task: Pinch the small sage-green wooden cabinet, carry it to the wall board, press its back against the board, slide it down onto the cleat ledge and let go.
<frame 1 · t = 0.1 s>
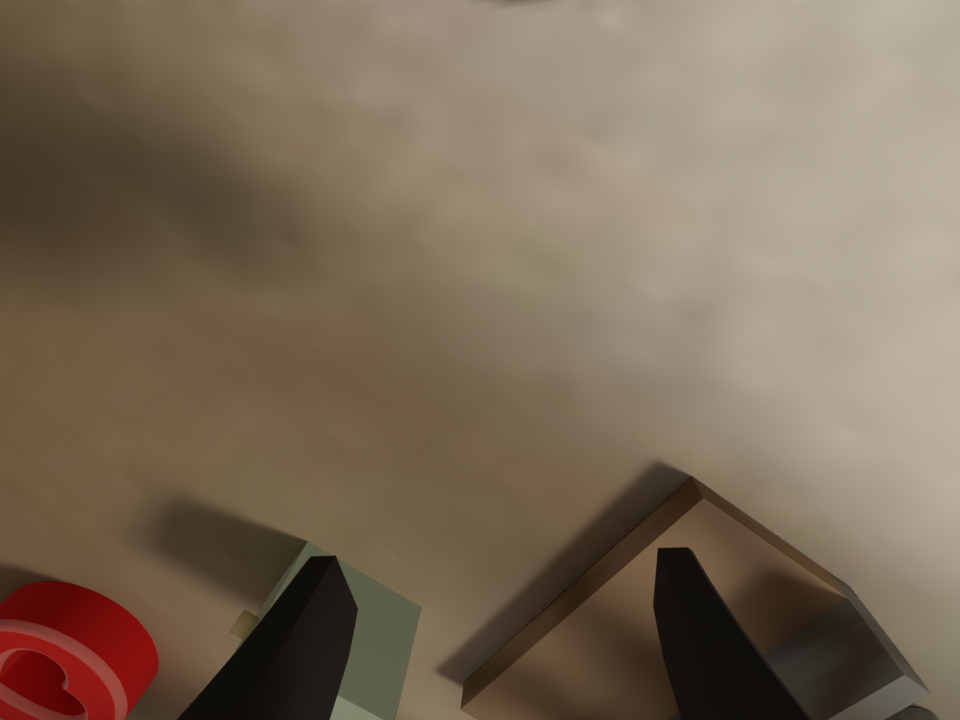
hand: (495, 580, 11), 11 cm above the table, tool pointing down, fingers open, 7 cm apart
decorative ornament: (86, 635, 30), on the table
cleat wall: (646, 644, 26), on the table
mini cabinet: (345, 598, 27), on the table
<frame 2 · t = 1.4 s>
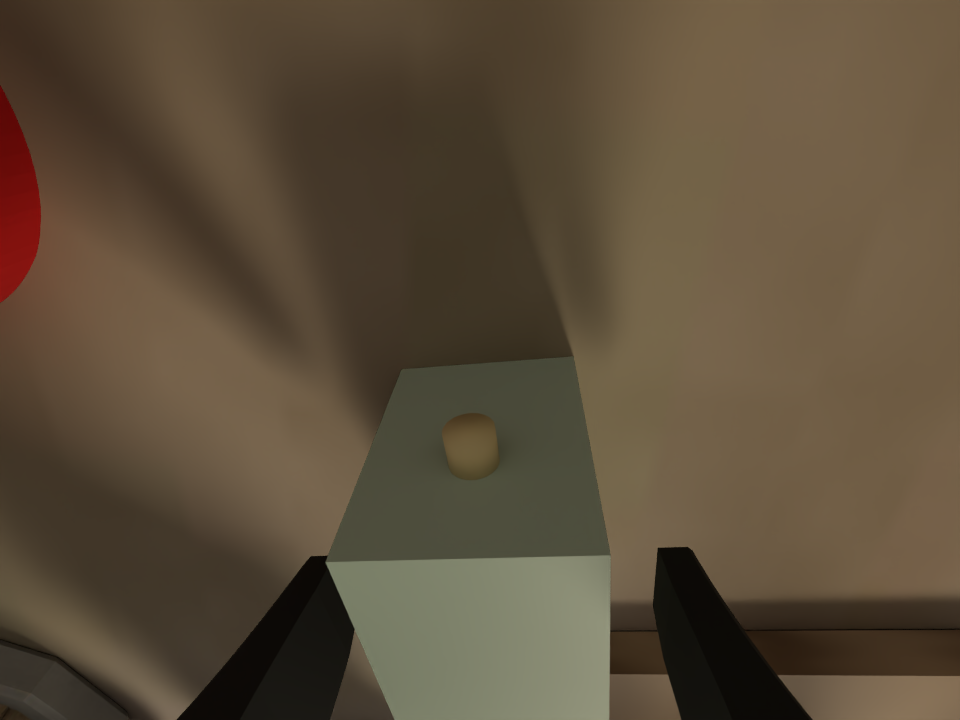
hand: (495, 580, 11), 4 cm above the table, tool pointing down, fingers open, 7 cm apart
cleat wall: (726, 707, 20), on the table
tankard: (76, 712, 26), on the table
mini cabinet: (500, 462, 15), on the table
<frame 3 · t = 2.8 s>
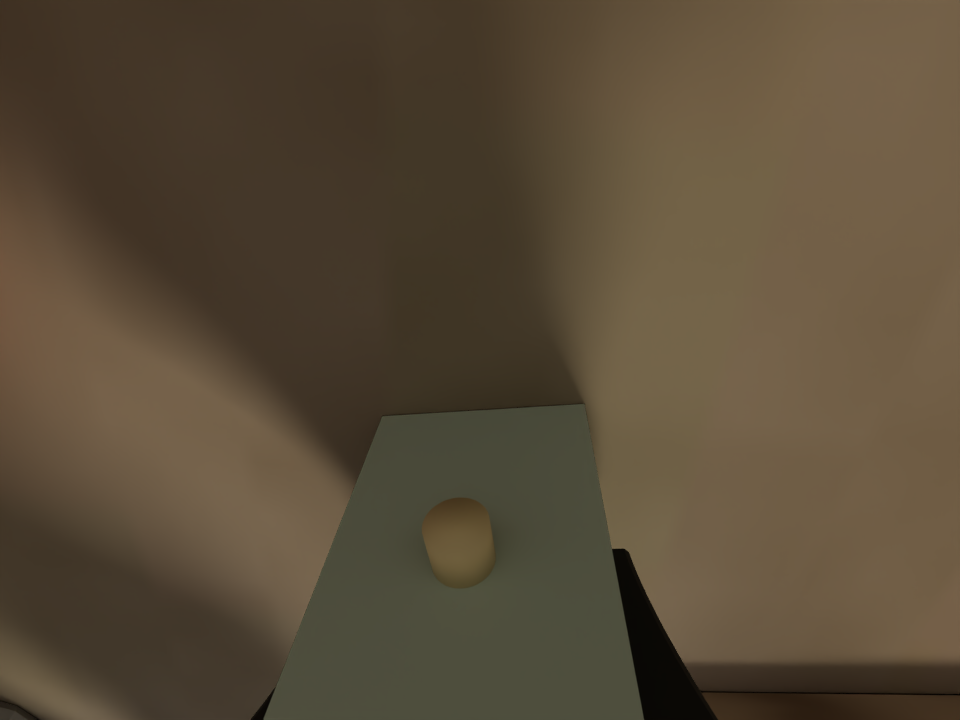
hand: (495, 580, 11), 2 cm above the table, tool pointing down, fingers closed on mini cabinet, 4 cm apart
mini cabinet: (498, 519, 13), on the table, touching gripper
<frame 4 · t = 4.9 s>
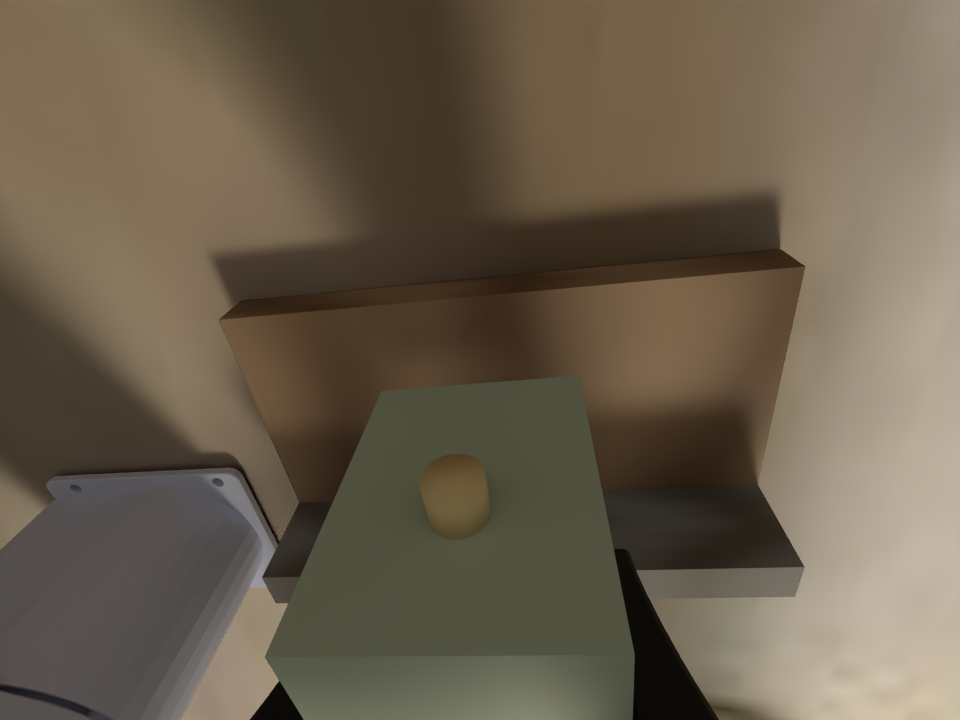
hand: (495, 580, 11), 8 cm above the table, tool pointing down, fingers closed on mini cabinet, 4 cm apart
cleat wall: (508, 409, 19), on the table
mini cabinet: (496, 496, 13), point 6 cm above the table, touching gripper
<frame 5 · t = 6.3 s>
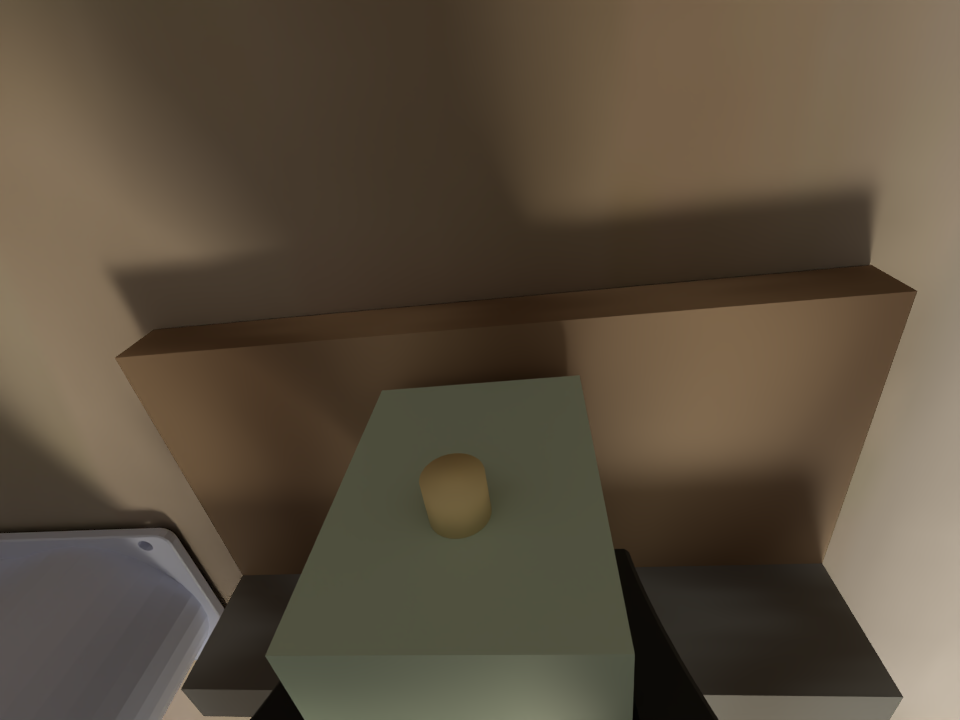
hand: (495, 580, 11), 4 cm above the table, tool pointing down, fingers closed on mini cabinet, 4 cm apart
cleat wall: (502, 464, 15), on the table
mini cabinet: (496, 495, 13), point 2 cm above the table, touching gripper
when the fingers open (3 cm above the table, at t = 7.3 s): mini cabinet stays where it is, resting on cleat wall.
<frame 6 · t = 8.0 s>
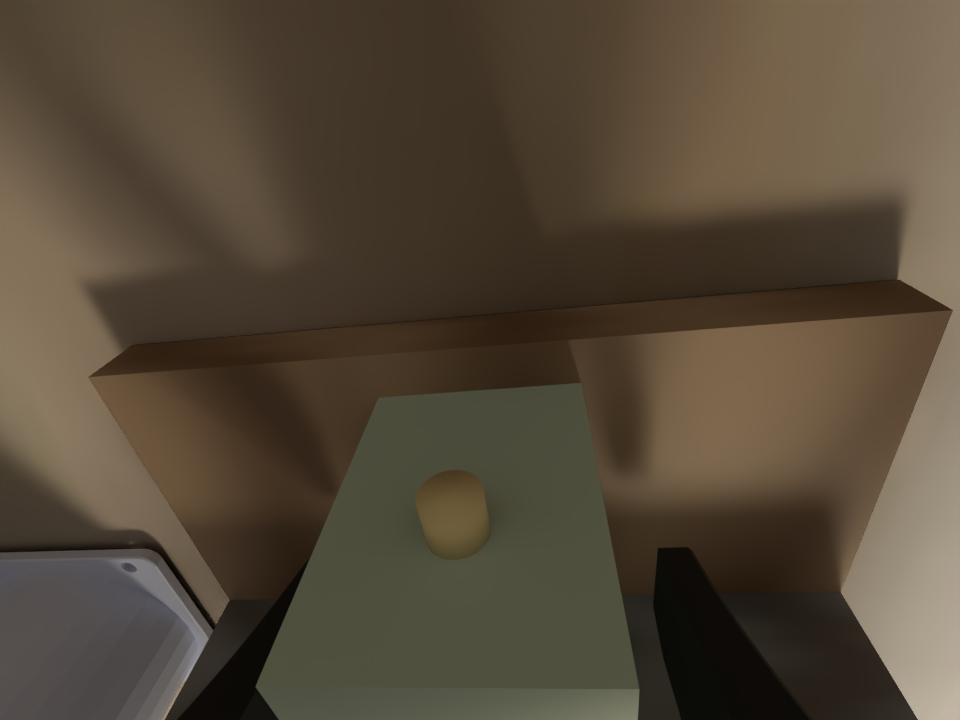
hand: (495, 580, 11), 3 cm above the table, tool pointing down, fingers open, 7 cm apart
cleat wall: (502, 485, 14), on the table
mini cabinet: (496, 503, 13), point 1 cm above the table, touching cleat wall
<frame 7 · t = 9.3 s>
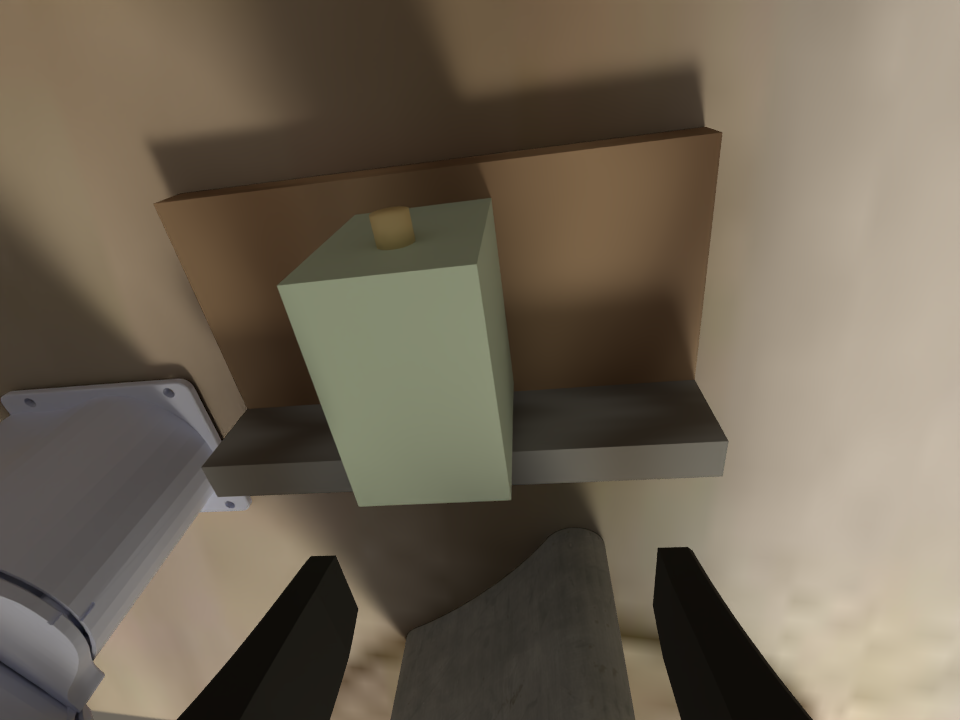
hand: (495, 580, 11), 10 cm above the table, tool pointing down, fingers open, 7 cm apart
hip flask: (501, 598, 29), on the table
cleat wall: (450, 310, 19), on the table
mini cabinet: (440, 305, 17), point 1 cm above the table, touching cleat wall
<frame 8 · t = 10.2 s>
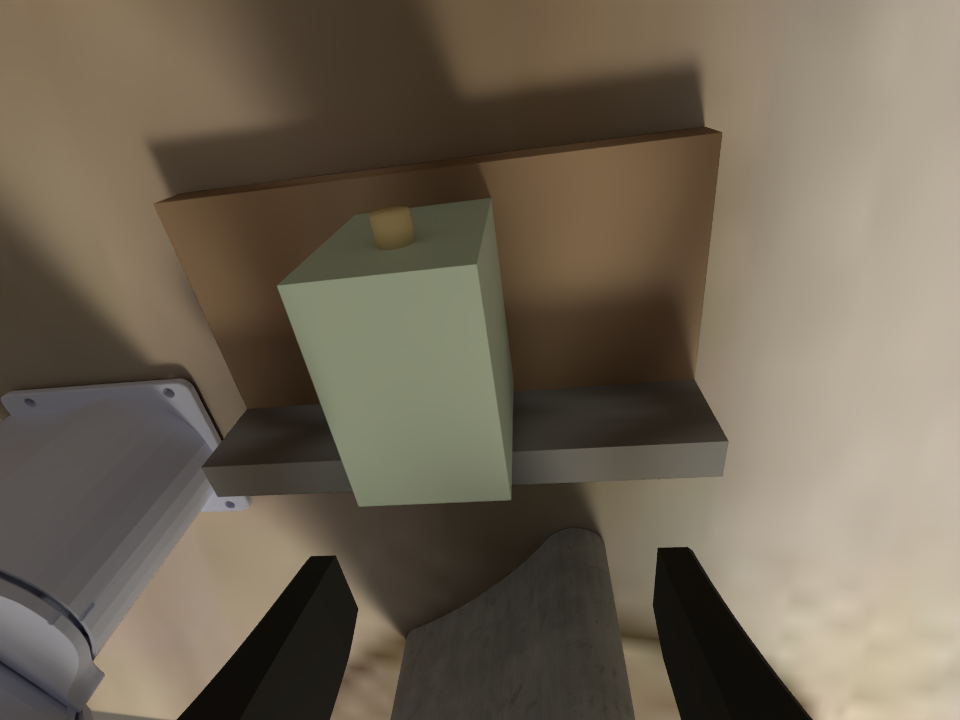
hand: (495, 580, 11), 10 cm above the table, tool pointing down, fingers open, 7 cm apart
hip flask: (501, 598, 29), on the table
cleat wall: (450, 310, 19), on the table
mini cabinet: (440, 305, 17), point 1 cm above the table, touching cleat wall
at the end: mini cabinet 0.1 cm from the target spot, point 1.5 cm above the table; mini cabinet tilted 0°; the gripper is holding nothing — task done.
